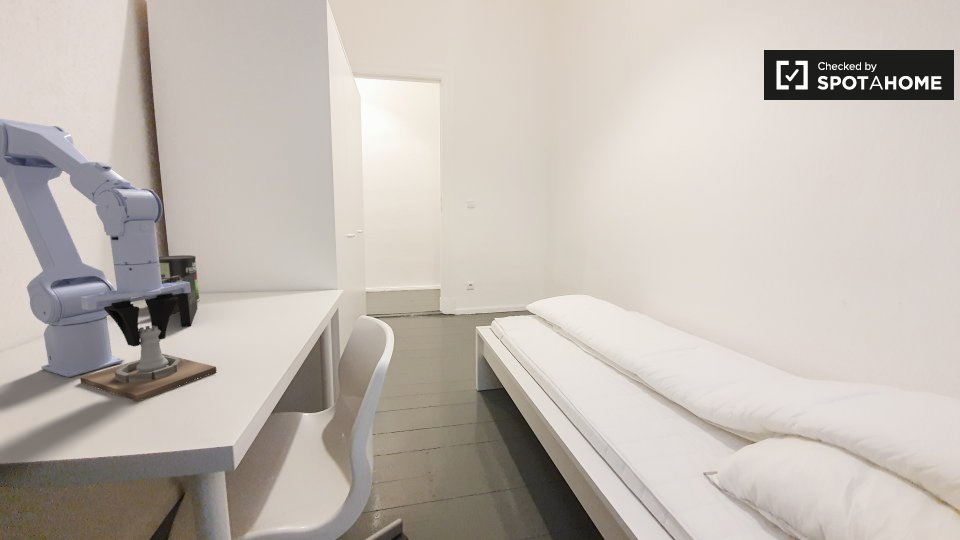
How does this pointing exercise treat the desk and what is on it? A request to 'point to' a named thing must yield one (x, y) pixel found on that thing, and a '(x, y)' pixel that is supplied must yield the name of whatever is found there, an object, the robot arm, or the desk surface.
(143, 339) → the rook chess piece
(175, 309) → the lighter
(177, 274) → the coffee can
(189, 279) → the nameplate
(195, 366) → the socket board
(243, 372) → the desk surface
